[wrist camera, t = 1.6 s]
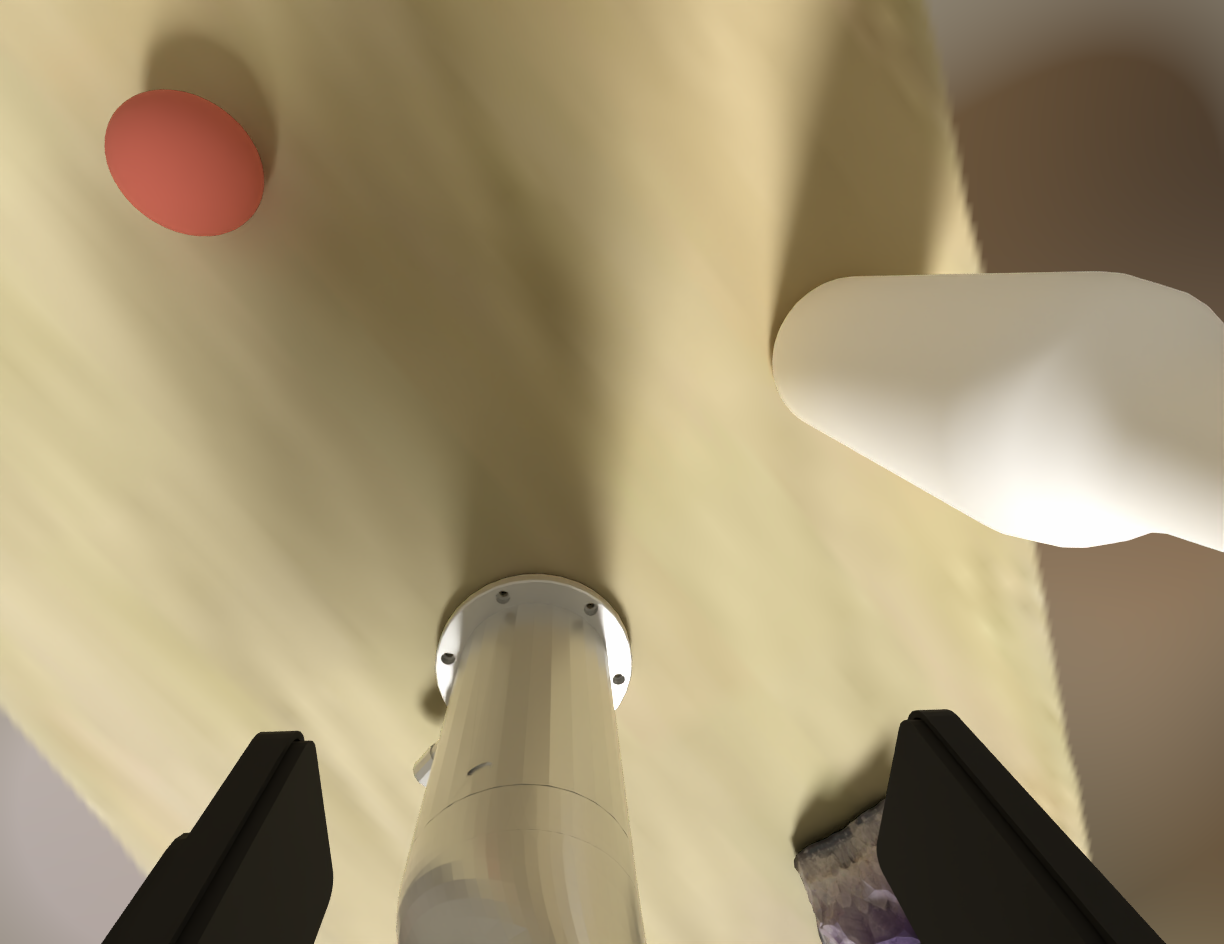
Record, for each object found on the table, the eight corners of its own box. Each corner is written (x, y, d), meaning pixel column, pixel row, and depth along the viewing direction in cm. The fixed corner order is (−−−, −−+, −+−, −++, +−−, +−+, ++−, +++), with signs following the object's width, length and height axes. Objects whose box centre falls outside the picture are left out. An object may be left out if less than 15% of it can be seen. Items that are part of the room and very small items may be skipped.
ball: (243, 265, 32) (176, 261, 27) (135, 181, 31) (40, 159, 25) (309, 172, 31) (253, 147, 26) (200, 81, 30) (116, 33, 24)
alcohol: (745, 317, 35) (1523, 463, 7) (888, 249, 35) (2363, 104, 6) (795, 450, 38) (1509, 960, 9) (929, 389, 38) (2102, 731, 9)
